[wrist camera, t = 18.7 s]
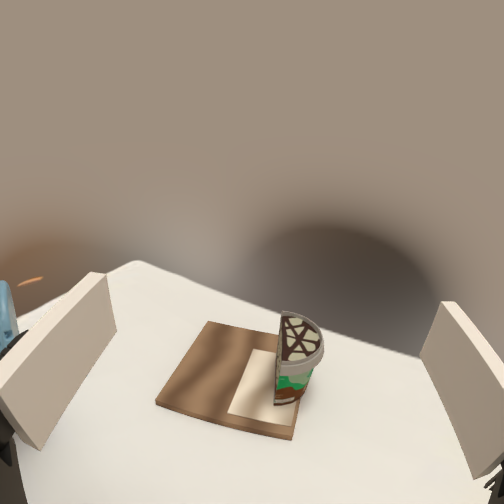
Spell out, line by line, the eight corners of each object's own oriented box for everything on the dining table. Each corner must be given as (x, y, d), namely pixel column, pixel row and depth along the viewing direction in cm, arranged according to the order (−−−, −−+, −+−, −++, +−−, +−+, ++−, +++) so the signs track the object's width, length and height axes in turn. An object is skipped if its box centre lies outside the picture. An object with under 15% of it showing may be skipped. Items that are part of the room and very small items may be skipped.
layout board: (156, 404, 39) (155, 398, 39) (208, 325, 59) (208, 319, 58) (291, 440, 35) (293, 435, 34) (309, 345, 55) (310, 339, 54)
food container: (316, 415, 38) (332, 366, 34) (272, 413, 38) (281, 364, 34) (310, 359, 49) (321, 311, 45) (275, 357, 49) (281, 308, 46)
